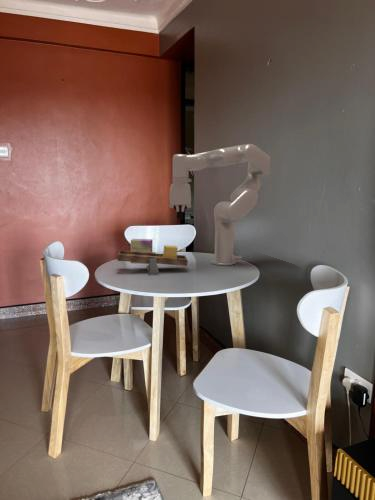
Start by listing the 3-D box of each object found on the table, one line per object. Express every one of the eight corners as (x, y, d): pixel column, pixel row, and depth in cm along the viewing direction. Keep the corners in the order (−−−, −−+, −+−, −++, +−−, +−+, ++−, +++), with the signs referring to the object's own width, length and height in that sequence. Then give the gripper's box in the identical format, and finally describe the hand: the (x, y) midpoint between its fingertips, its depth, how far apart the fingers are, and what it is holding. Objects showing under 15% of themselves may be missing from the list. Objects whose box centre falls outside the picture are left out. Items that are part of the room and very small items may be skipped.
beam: (184, 261, 185) (185, 255, 185) (187, 265, 175) (187, 259, 175) (118, 256, 181) (118, 250, 180) (117, 260, 171) (117, 254, 170)
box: (152, 261, 199) (152, 238, 197) (150, 263, 193) (150, 240, 191) (133, 260, 200) (132, 238, 198) (130, 262, 194) (130, 240, 192)
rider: (175, 258, 182) (176, 246, 181) (176, 260, 177) (177, 247, 176) (162, 257, 181) (164, 245, 180) (163, 259, 176) (164, 246, 175)
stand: (157, 266, 187) (157, 252, 186) (158, 274, 171) (158, 259, 169) (147, 266, 187) (146, 252, 185) (147, 275, 170) (147, 259, 169)
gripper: (195, 181, 183) (194, 219, 186) (164, 180, 182) (164, 219, 185) (196, 181, 176) (196, 220, 179) (164, 181, 175) (164, 220, 178)
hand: (180, 219), depth 182 cm, fingers closed
